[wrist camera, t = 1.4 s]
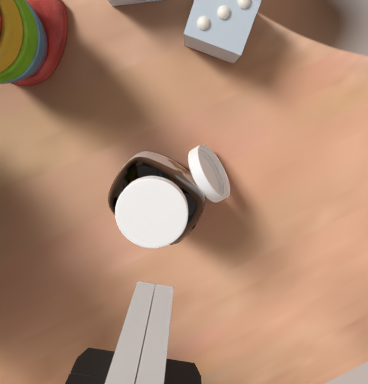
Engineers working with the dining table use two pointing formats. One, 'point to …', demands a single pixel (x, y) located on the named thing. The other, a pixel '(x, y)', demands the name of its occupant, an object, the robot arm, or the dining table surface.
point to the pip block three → (220, 27)
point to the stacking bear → (31, 39)
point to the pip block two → (128, 2)
